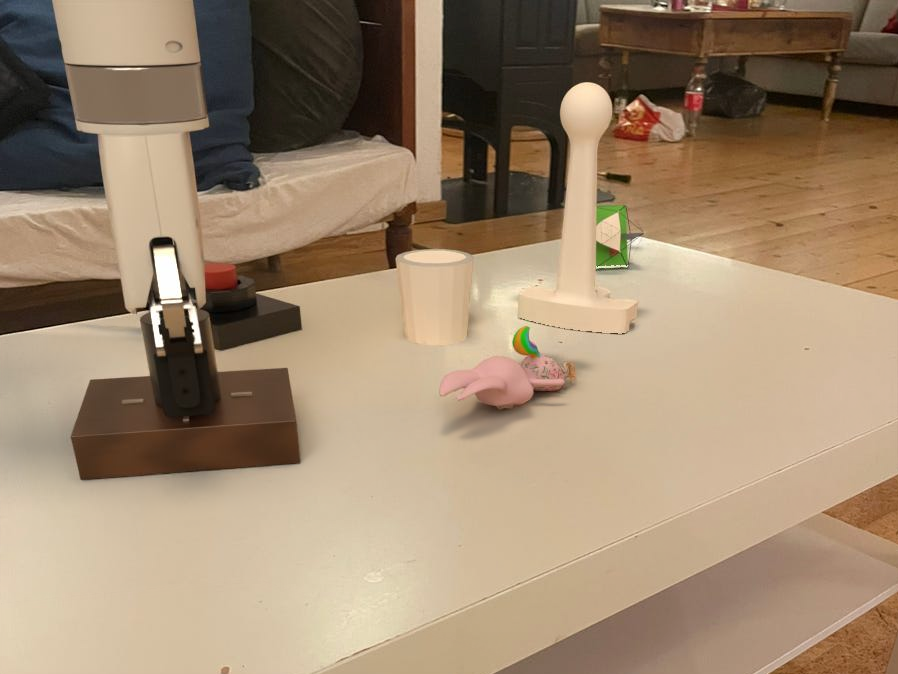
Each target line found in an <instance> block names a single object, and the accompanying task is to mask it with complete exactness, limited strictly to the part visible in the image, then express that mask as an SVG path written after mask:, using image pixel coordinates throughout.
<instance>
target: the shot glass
mask: <svg viewBox="0 0 898 674" xmlns="http://www.w3.org/2000/svg"><path fill="white" fill-rule="evenodd" d="M474 258H475V256H473V255H472V254H470V253H469V252H465V251H461V250H455V249H445V248H441V249H440V248H428V249H427V248H426V249H415V250H410V251H405V252H402V253H399V254H397V255H396V257H395V267H396V275H397V281H398V289H399V298H400V307H401V313H402V320H403V329H404V336H405V338H406V339H407V341H409V342H411V343H414V344H418V345H425V346H446V345H453V344H457V343H461V342H463V341H465V340H466V339H467V337H468V328H469V327H468V326H469V315H470V305H471V304H470V303H471V293H472V292H471V291H472V282H473V270H474V260H475V259H474Z"/></svg>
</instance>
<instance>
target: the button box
mask: <svg viewBox="0 0 898 674" xmlns="http://www.w3.org/2000/svg"><path fill="white" fill-rule="evenodd" d="M237 280H238V286H235V287H230V288H224V289H205V292H206V303H205V304H204V305H203V306H202V307H201V308H200V309H201V310H204V311H206V312H208V313H209V315H210V322H211V329H212V336H213V343H214V350H215V351H216V350H217V351H218V352H222V351H226V350H230V349H234V348H238V347H242V346H245V345H249V344H252V343H257V342H261V341H264V340H269V339H272V338H276V337H279V336H284V335H287V334H291V333H295V332H300V331H302V330H303V326H302V315H301V305H297V304H293V303H291V302H287V301H284V300H281V299H277V298H274V297H270V296H267V295H263V294H260V293H257V291H256V283H255V281H254V279H253V278H251V277H248V276H244V275H238V274H237ZM159 300H160V298H159ZM184 300H185V298H184ZM142 309H143V310H145V311H147V312H150V311H149V300H147V304H146V308H142Z"/></svg>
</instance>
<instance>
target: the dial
mask: <svg viewBox="0 0 898 674" xmlns="http://www.w3.org/2000/svg"><path fill="white" fill-rule="evenodd" d="M197 316H198V323H199V329H200V335H201V341H202V348H203V350H207V356H208V363H209V369H210V376H211V383H212V390H213V397H214V402H216V401H217V400H218V399H219V398H220V396H221V392H220V385H219V378H218V372H219V371H218V365H217V358H216V349H214V343H213V336H212V329H211V322H210V315H209V313H208V312H206V311H204V310H201V309H197ZM185 317H189V316H185ZM160 319H164V318H160ZM139 323H140V328H141V334H142V339H143V344H144V351H145V356H146V362H147V367H148V372H149V376H150V379H151V384H152V390H153V395H154V400H155V402H156V404H158V405H159V406H162V400H161V394H160V389H159V383H158V377H157V372H156V366H155V360H154V354H157V350H156V344H155V337H154V331H153V325H152V319H151V314H150V311H148V312H146V313H144V314H143V315H141V316H140V317H139ZM191 336H192V335H191ZM192 343H193V340H192ZM164 344H165V342H164ZM193 350H194V348H193ZM162 407H163V406H162Z"/></svg>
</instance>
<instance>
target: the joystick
mask: <svg viewBox="0 0 898 674" xmlns="http://www.w3.org/2000/svg"><path fill="white" fill-rule="evenodd" d="M559 116H560V117H559V118H560V124H561V125H562V128H563V130H564V131H565V132H566V134H567V137H568V140H569V144H570V151H569V160H568V161H569V162H568V169H567V182H566V191H565V202H564V209H563V211H564V212H563V221H562V230H561V240H560V251H559V259H558V260H559V261H558V268H557V270H558V271H557V280H556V290H554V289H549V288H546V287H543V286H530V287H528V288H526V289H524V290H522V291H520V292H519V293H518V299H517V300H518V302H517V303H518V304H517V318H518V317H519V318H518V319H520V318H522V319H521V320H523V319H525V320H524V321H526V320H529V321H528V322H530V321H534V322H536V323H535V324H538V323H541V324H540V325H542V324H545V325H544V326H547V325H549V326H548V327H552V326H555V327H554V328H558V327H560V328H559V329H564V328H565V329H566V330H570V329H573V330H572V331H578V330H580V331H579V332H586V331H592V332H591V333H596V332H602V333H601V334H610V333H618V334H617V335H623V334H622V333H625V334H626V332H627V331H628V332H630V324H631V323H632V324H633V323H636V322H637V317H638V305H639V301H638V300H637V299H623V298H622V299H621V298H611V290H610V289H608V288H606V287H603V286H597V285H596V281H597V280H596V278H597V277H596V276H597V275H596V274H597V273H596V270H597V269H596V212H597V206H598V205H597V203H598V150H599V149H598V147H599V143H600V141H601V138H602V136H603V135H604V134H605V133H606V131H607V129H608V128H609V126H610V124H611V122H612V118H613V103H612V99H611V97H610V95H609V93H608V91H606V89H604V88H603V87H602V86H601V85H599V84H598V83H594V82H587V81H585V82H580V83H578V84H576V85H574V86H573V87H571V88H570V89H569V90H568V91H567V92H566V94H565V95H564V97H563V99H562V101H561V104H560V109H559ZM534 322H533V323H534ZM628 332H627V333H628Z"/></svg>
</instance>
